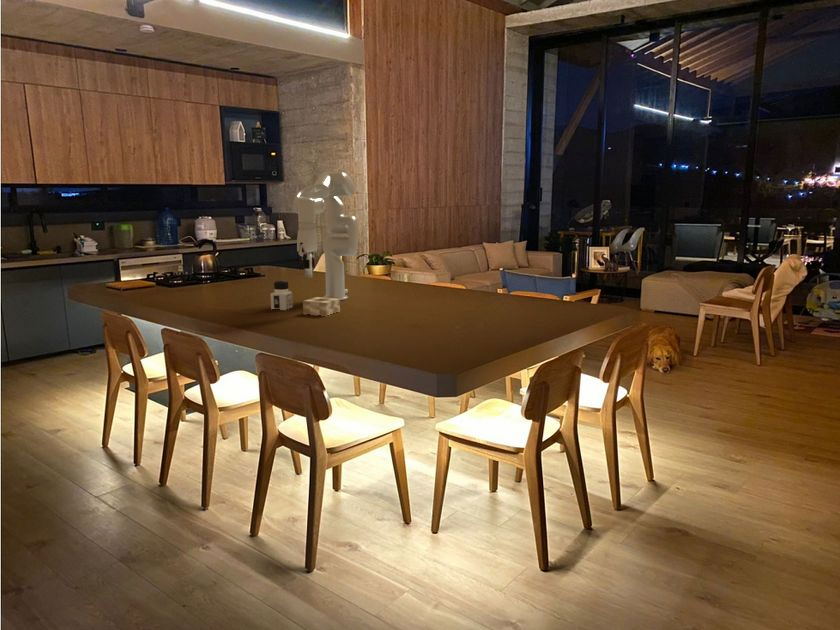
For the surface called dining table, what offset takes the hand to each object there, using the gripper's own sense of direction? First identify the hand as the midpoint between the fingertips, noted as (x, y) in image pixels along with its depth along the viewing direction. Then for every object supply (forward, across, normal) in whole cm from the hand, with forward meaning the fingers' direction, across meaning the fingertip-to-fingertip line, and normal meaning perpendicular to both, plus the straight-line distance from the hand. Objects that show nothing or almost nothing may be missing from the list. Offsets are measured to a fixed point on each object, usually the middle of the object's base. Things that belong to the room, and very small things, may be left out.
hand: (308, 267), depth 283 cm
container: (+21, -4, -19) cm, 29 cm away
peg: (+4, 0, 0) cm, 4 cm away
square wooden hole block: (+21, -3, +4) cm, 21 cm away
